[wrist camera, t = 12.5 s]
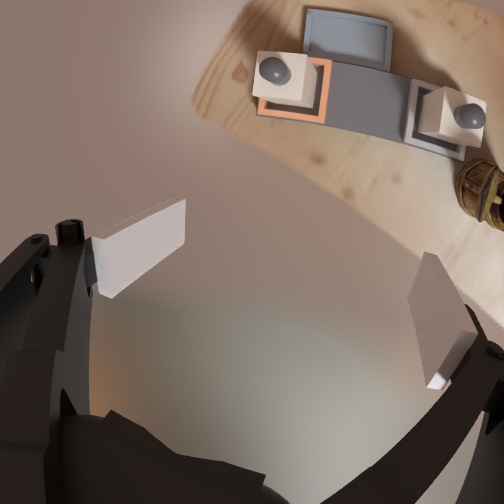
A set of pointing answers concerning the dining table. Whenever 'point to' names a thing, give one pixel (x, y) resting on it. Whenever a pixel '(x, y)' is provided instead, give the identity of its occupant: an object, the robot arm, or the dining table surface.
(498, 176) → the wooden mug
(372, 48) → the tray
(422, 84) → the grey base
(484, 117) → the twin plug
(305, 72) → the bottle
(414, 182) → the dining table surface
